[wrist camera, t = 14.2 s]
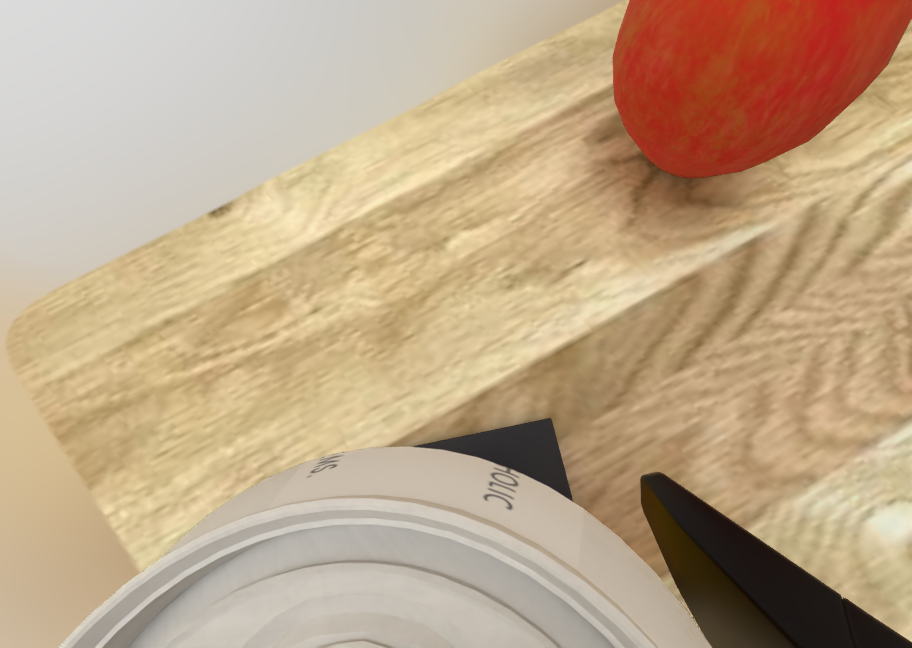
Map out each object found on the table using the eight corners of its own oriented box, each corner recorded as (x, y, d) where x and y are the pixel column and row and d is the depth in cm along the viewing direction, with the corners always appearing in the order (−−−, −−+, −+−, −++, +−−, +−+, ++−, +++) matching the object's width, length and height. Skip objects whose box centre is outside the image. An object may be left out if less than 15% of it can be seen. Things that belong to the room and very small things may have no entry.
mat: (608, 641, 15) (611, 646, 15) (392, 681, 16) (388, 688, 15) (549, 419, 18) (551, 417, 18) (366, 457, 18) (362, 456, 18)
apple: (572, 219, 21) (640, -18, 11) (599, 87, 23) (674, -207, 13) (762, 250, 19) (1048, 10, 9) (769, 105, 22) (1002, -210, 12)
